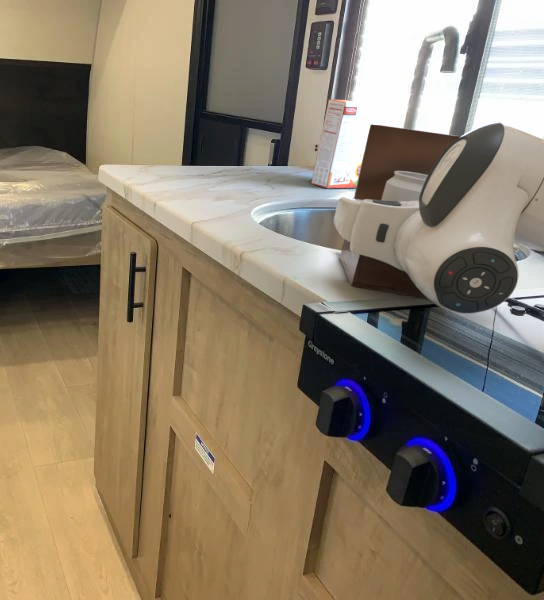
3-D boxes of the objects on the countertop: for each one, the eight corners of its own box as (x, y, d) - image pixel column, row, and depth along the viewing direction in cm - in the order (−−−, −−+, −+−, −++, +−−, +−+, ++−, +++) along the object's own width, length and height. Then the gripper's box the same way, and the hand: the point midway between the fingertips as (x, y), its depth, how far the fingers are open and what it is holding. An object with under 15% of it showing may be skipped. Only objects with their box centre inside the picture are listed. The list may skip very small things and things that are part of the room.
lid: (459, 136, 85) (447, 138, 90) (371, 123, 87) (364, 127, 92) (434, 233, 88) (423, 230, 93) (349, 219, 90) (344, 218, 94)
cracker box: (345, 183, 160) (365, 101, 152) (363, 188, 155) (385, 104, 148) (308, 183, 153) (328, 97, 145) (326, 189, 148) (347, 100, 140)
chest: (445, 302, 79) (459, 262, 76) (351, 286, 80) (361, 246, 78) (421, 271, 91) (432, 236, 89) (339, 257, 92) (348, 222, 90)
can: (417, 257, 87) (443, 175, 82) (425, 272, 80) (454, 183, 76) (364, 247, 88) (387, 166, 84) (367, 260, 82) (392, 173, 77)
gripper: (535, 227, 67) (491, 203, 80) (350, 198, 70) (336, 179, 83) (515, 279, 70) (476, 247, 83) (337, 249, 72) (326, 223, 85)
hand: (405, 213), depth 83 cm, fingers closed on can, 7 cm apart
